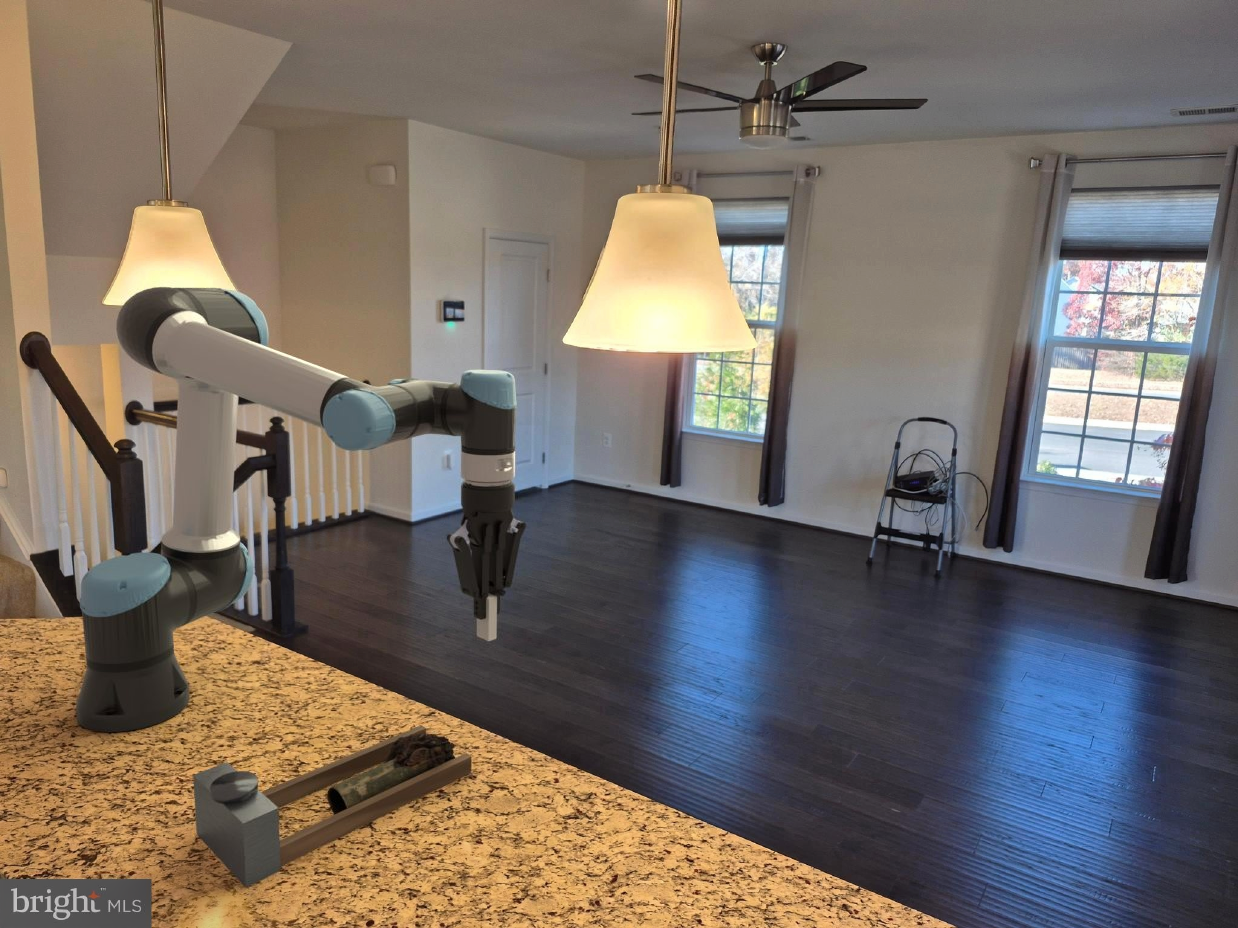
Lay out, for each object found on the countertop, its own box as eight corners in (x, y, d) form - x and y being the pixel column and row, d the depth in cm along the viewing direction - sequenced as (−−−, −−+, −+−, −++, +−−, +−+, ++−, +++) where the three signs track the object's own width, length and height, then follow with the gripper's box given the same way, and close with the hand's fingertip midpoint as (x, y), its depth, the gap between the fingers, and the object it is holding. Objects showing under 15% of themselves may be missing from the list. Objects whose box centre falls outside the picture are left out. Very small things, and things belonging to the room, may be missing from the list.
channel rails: (232, 822, 103) (231, 804, 102) (421, 740, 124) (421, 724, 123) (278, 867, 95) (277, 848, 95) (471, 772, 116) (471, 756, 116)
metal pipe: (347, 828, 103) (346, 788, 102) (319, 806, 108) (317, 766, 106) (461, 771, 116) (461, 735, 115) (431, 753, 121) (431, 718, 120)
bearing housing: (192, 836, 100) (188, 768, 98) (234, 818, 104) (230, 752, 102) (241, 889, 92) (238, 817, 90) (284, 868, 95) (282, 797, 94)
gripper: (468, 491, 110) (467, 658, 115) (540, 478, 120) (536, 632, 124) (433, 482, 115) (434, 641, 119) (505, 470, 124) (503, 618, 129)
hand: (486, 637), depth 122 cm, fingers closed
